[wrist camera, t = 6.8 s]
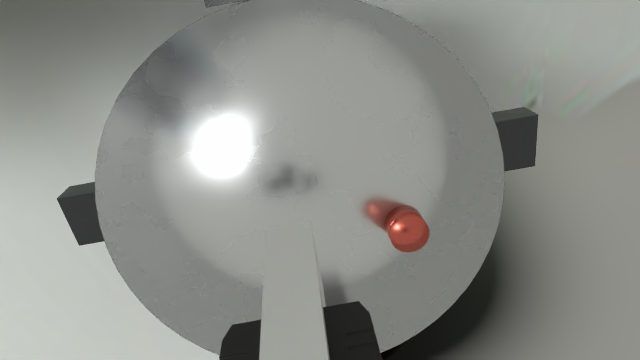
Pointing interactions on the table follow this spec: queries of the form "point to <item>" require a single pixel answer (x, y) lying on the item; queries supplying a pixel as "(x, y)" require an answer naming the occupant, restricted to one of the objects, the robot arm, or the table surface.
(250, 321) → the robot arm
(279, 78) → the lid
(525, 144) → the pot
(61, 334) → the table surface
